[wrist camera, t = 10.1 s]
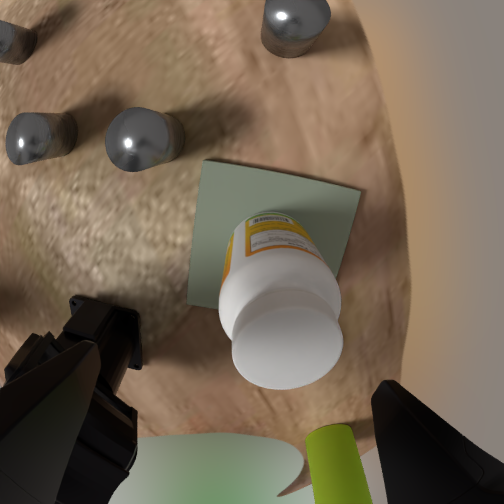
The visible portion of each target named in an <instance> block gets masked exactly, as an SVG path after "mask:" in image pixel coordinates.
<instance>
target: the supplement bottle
mask: <svg viewBox="0 0 504 504" xmlns="http://www.w3.org/2000/svg"><path fill="white" fill-rule="evenodd" d="M340 310H341V294H340V289H339V286H338V283H337V281H336V279H335V277H334V275H333V273H332V271H331V270H330V268H329V267H328V265H327V264H326V262H325V261H324V259H323V257H322V256H321V254H320V252H319V251H318V249H317V248H316V246H315V244H314V243H313V241H312V240H311V238H310V236H309V235H308V233H307V232H306V230H305V229H304V228H303V226H302V225H301V224H300V223H299V222H298V221H296V220H295V219H294V218H292V217H290V216H288V215H285V214H282V213H278V212H262V213H257V214H255V215H252V216H250V217H248V218H247V219H245V220H244V221H242V222H241V223H240V224H239V225H238V226H237V227H236V228H235V230H234V231H233V233H232V235H231V237H230V239H229V242H228V246H227V252H226V258H225V265H224V271H223V277H222V283H221V289H220V294H219V316H220V321H221V324H222V327H223V329H224V330H225V332H226V334H227V335H228V337H229V338H230V339H231V340H232V358H233V362H234V364H235V367H236V368H237V370H238V371H239V373H240V374H241V375H242V376H243V377H244V378H245V379H247V380H248V381H250V382H251V383H253V384H255V385H258V386H260V387H264V388H268V389H279V390H284V389H293V388H298V387H302V386H305V385H308V384H310V383H313V382H314V381H316V380H318V379H320V378H321V377H323V376H324V375H325V374H327V373H328V372H329V371H330V370H331V369H332V368H333V366H334V365H335V364H336V363H337V361H338V359H339V357H340V355H341V352H342V348H343V335H342V332H341V329H340V326H339V323H338V318H339V315H340Z"/></svg>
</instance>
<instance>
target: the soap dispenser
mask: <svg viewBox="0 0 504 504" xmlns="http://www.w3.org/2000/svg"><path fill="white" fill-rule="evenodd" d="M305 443H306V449H307V455H308V461H309V467H310V473H311V480H312V486H313V492H314V499H315V504H373V503H372V499H371V495H370V492H369V489H368V484H367V481H366V477H365V474H364V470H363V466H362V463H361V459H360V456H359V452H358V449H357V445H356V442H355V439H354V435H353V432H352V429H351V427H350V426H348V425H344V424H334V425H329V426H325V427H322V428H319V429H317V430H315V431H313V432H312V433H310V434H309V435H308V436H307V437H306V440H305Z"/></svg>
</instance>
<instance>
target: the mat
mask: <svg viewBox="0 0 504 504" xmlns="http://www.w3.org/2000/svg"><path fill="white" fill-rule="evenodd" d="M360 194H361V191H359V190H356V189H352V188H348V187H344V186H340V185H336V184H332V183H328V182H323V181H319V180H314V179H310V178H305V177H301V176H296V175H291V174H286V173H281V172H276V171H271V170H265V169H260V168H254V167H248V166H243V165H236V164H230V163H224V162H217V161H210V160H203V163H202V170H201V177H200V183H199V191H198V198H197V205H196V213H195V221H194V230H193V239H192V248H191V258H190V268H189V279H188V290H187V303H186V304H188V305H194V306H200V307H206V308H212V309H219V294H220V289H221V283H222V277H223V271H224V265H225V258H226V252H227V246H228V242H229V239H230V237H231V235H232V233H233V231H234V230H235V228H236V227H237V226H238V225H239V224H240V223H241V222H242V221H244V220H245V219H247V218H248V217H250V216H252V215H255V214H257V213H262V212H278V213H282V214H285V215H288V216H290V217H292V218H294V219H295V220H296V221H298V222H299V223H300V224H301V225H302V226H303V228H304V229H305V230H306V232H307V233H308V235H309V236H310V238H311V240H312V241H313V243H314V244H315V246H316V248H317V249H318V251H319V252H320V254H321V256H322V257H323V259H324V261H325V262H326V264H327V265H328V267H329V268H330V270H331V271H332V273H333V275H334V277H335V279H336V277H337V274H338V271H339V268H340V265H341V261H342V258H343V255H344V252H345V248H346V245H347V242H348V238H349V235H350V231H351V228H352V224H353V221H354V217H355V213H356V210H357V206H358V202H359V198H360Z"/></svg>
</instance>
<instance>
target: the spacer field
mask: <svg viewBox="0 0 504 504" xmlns="http://www.w3.org/2000/svg"><path fill="white" fill-rule="evenodd" d="M330 17H331V11H330V7H329V5H328V3H327V1H326V0H266V2H265V8H264V15H263V22H262V29H261V41H262V43H263V45H264V46H265V48H266V49H267V50H268V51H269V52H271V53H272V54H274V55H276V56H279V57H282V58H295V57H299V56H301V55H303V54H304V53H306V52H307V51H308V49H309V48H310V47H311V45H312V44H313V43H314V41H315V40H316V39H317V37H318V36H319V35H320V33H321V32H322V31H323V29H324V28H325V27H326V25H327V24H328V22H329V20H330ZM36 41H37V34H36V32H35V31H33V30H30V29H27V28H24V27H21V26H18V25H14V24H11V23H8V22H5V21H1V20H0V62H2V63H8V64H15V65H19V64H21V63H23V62H24V61H26V60H27V59H28V57H29V56H30V55H31V53H32V52H33V50H34V48H35V45H36ZM77 134H78V130H77V124H76V122H75V120H74V118H73V117H72V116H70V115H69V114H64V113H21V114H19V115H17V116H16V117H15V118H14V119H13V121H12V122H11V124H10V126H9V128H8V131H7V135H6V151H7V154H8V157H9V159H10V160H11V161H12V162H13V163H14V164H16V165H24V164H28V163H33V162H37V161H42V160H47V159H51V158H57V157H62V156H65V155H66V154H68V153H69V152H70V151H71V150H72V149H73V147H74V145H75V143H76V140H77ZM184 142H185V132H184V129H183V126H182V125H181V123H180V122H179V121H178V120H177V119H176V118H174V117H173V116H170V115H167V114H164V113H160V112H157V111H153V110H150V109H146V108H141V107H134V108H129V109H127V110H124V111H123V112H121V113H120V114H118V115H117V116H116V117H115V118H114V119H113V121H112V122H111V124H110V125H109V127H108V130H107V133H106V138H105V146H106V151H107V154H108V156H109V158H110V160H111V161H112V163H113V164H114V165H115V166H117V167H118V168H120V169H122V170H124V171H128V172H138V171H142V170H145V169H148V168H151V167H154V166H157V165H160V164H163V163H167V162H169V161H171V160H173V159H174V158H176V157H177V156H178V155H179V153H180V152H181V150H182V148H183V146H184Z"/></svg>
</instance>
